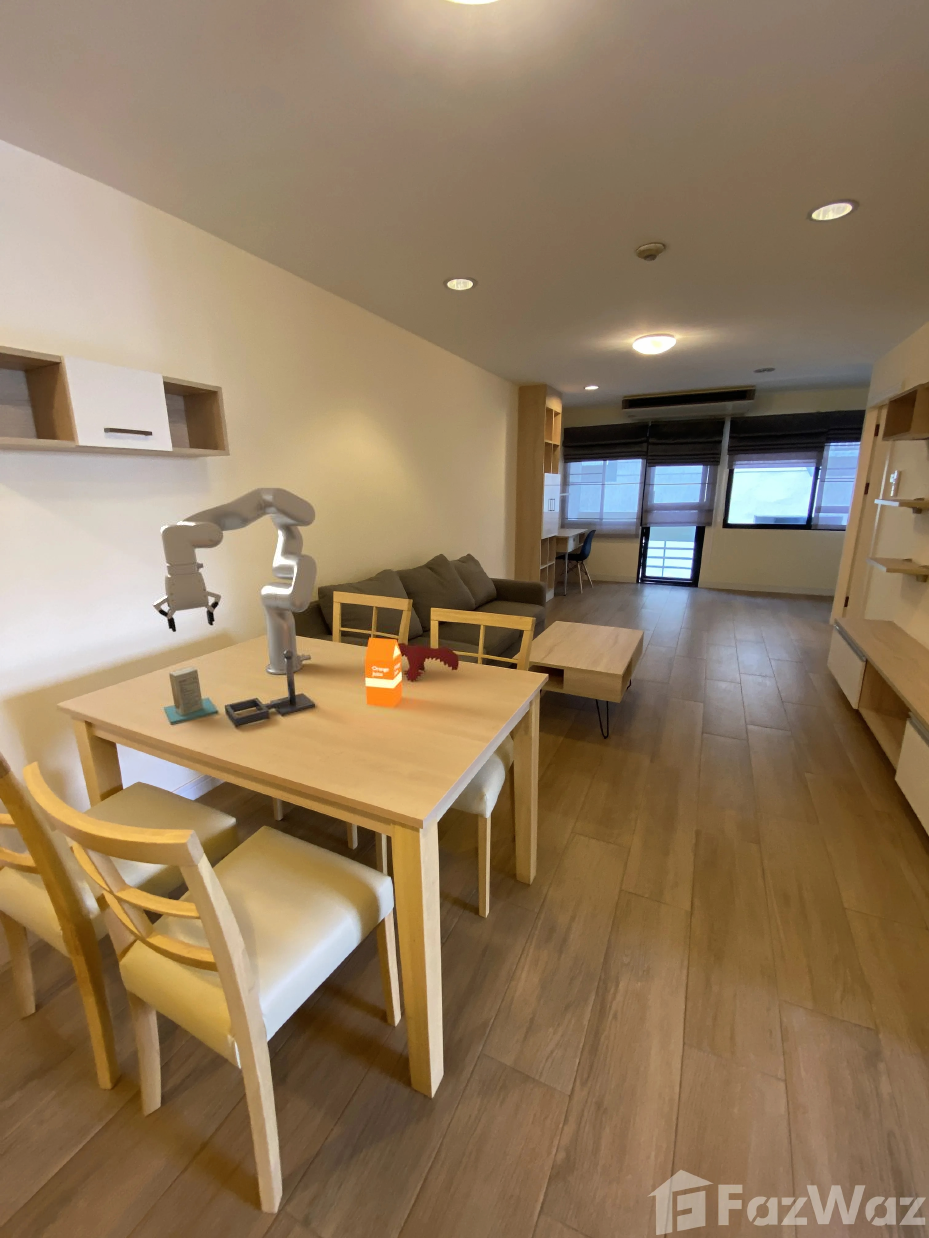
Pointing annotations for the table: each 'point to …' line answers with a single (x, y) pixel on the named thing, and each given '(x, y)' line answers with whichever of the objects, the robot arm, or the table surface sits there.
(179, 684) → the skincare box
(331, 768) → the table surface
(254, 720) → the ring stand
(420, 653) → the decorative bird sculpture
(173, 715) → the teal mat
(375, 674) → the orange juice
